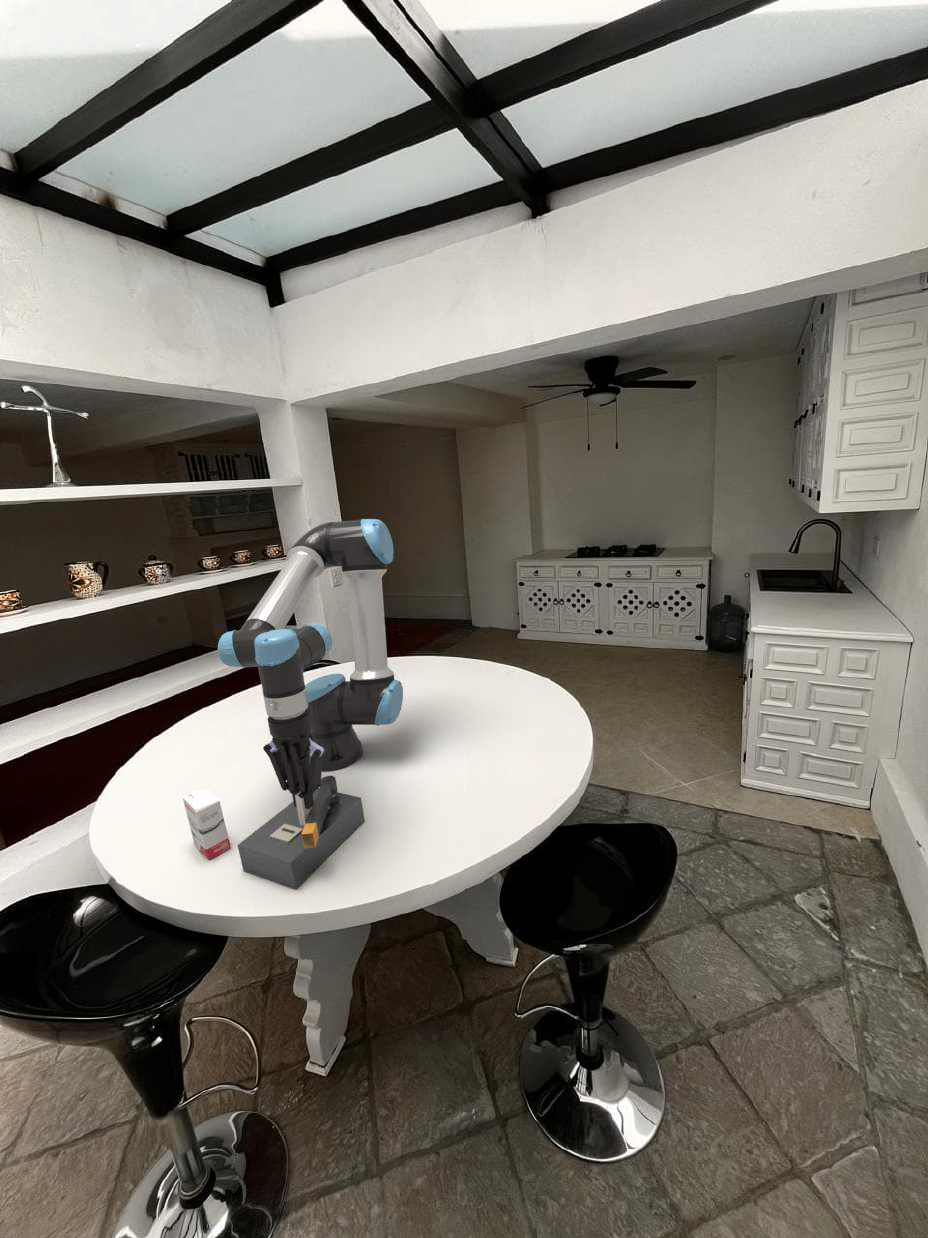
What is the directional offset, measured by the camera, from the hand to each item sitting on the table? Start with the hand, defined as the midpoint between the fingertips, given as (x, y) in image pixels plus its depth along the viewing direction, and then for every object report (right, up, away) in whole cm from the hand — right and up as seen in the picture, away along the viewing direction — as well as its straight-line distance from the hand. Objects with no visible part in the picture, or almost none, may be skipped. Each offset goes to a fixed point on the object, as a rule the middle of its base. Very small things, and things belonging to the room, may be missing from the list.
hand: (307, 820), depth 100 cm
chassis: (-1, -7, +5) cm, 9 cm away
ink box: (-23, -9, +8) cm, 25 cm away
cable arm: (+2, 0, +3) cm, 3 cm away
